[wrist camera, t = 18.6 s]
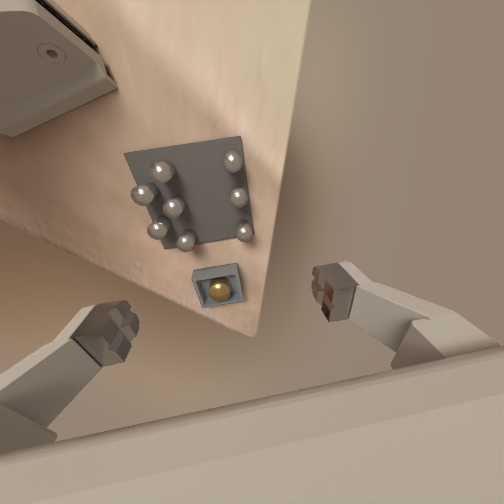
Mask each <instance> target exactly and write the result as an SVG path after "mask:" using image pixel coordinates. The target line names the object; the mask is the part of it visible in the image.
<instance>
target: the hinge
mask: <svg viewBox="0 0 504 504" xmlns="http://www.w3.org/2000/svg"><path fill="white" fill-rule="evenodd" d="M94 45H96V43H95V42H94V40H93V39H92V37H91V36H90V35H89V33H88V32H87V31H86V30H85V29H83V28H82V27H81V26H80V25H79V24H78V23H77V22H76V21H75V20H74V19H72V18H71V17H70V16H69V15H68V14H67V13H66V12H65V11H64V10H63V9H62V8H60V7H59V6H58V5H57V4H56V3H55V2H54V1H53V0H0V133H1V134H4V135H7V136H10V137H15V136H17V135H19V134H21V133H23V132H26V131H28V130H30V129H32V128H34V127H36V126H38V125H40V124H43V123H45V122H47V121H49V120H51V119H53V118H55V117H57V116H60V115H62V114H64V113H66V112H68V111H70V110H72V109H74V108H76V107H79V106H81V105H83V104H85V103H87V102H89V101H91V100H93V99H96V98H98V97H100V96H102V95H104V94H106V93H108V92H110V91H113V90H115V89H117V88H118V87H117V85H116V83H115V82H114V81H113V80H112V79H111V78H110V77H109V76H108V75H107V73H106V69H105V66H104V62H103V59H102V57H101V56H100V55H99V54H98V53H97V52H95V51H94V50H93V49H92V48H94V47H93V46H94Z"/></svg>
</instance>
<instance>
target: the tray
mask: <svg viewBox="0 0 504 504" xmlns="http://www.w3.org/2000/svg"><path fill="white" fill-rule="evenodd" d="M222 276H224V277H226V278H227V279H228V280H229V281H230V296H229V298H228V299H227V300H225V301H221V302H217V301H214V300H212V299H211V298H210V297H209V295H208V292H209V284H210V281H211V279H212V278H216V277H222ZM192 282H193V285H194V287H195V290H196V293H197V295H198V298H199V300H200V303H201V306H202V308H206V307H212V306H218V305H223V304H229V303H235V302H240V301H244V297H243V289H242V284H241V280H240V275H239V270H238V265H237V263H233V264H227V265H221V266H215V267H210V268H204V269H198V270H194V272H193V275H192Z"/></svg>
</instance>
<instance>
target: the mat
mask: <svg viewBox="0 0 504 504" xmlns="http://www.w3.org/2000/svg"><path fill="white" fill-rule="evenodd" d="M229 151H235V152H237V153H238V154H239V155H240V156H241V158H242V162H243V163H242V167H241V169H240V170H239V171H238V172H235V173H231V172H229V171H227V170H226V169H225V167H224V164H223V159H224V156H225V154H226V153H227V152H229ZM124 156H125V158H126V160H127V163H128V165H129V167H130V170H131V172H132V174H133V177H134V179H135V181H136V184H137V186H139V185H142V184H144V183H146V182H153V183H155V184H156V185H157V186H158V187H159V190H160V195H159V196H158V197H157V198H156V199H155V200H153V201H152V202H151V203H149V204H148V205H146V207H147V209H148V212H149V214H150V216H151V219H152V221H153V222H154V221H155V220H156V218H157V217H159V216H166V215H165V213H164V212H163V205H164V203H165V202H166V201H168V200H169V199H170V198H171V197H172V196H173V195H181V196H183V197H184V198H185V200H186V203H187V204H186V207H185V209H184V210H183V212H182V213H181V214H180V216H179V217H177V218H170V217H168V216H167V217H168V218H169V219H170V220H171V222H172V226H171V228H170V229H169V230H168V232H167V233H166V235H165V236H164V237H163V238H162V239H160V240H161V242H162V244H163V247H164V249H168V248H174V247H177V245H176V244H177V241H178V239H179V237H180V235H181V233H182V231H183V230H184V229H187V228H190V229H193V230H194V231H195V232H196V235H197V236H196V240H195V242H194V244H198V243H204V242H210V241H216V240H223V239H229V238H235V237H237V230H236V224H237V222H238V221H239V220H242V219H245V220H247V221H248V222H249V223H250V226H251V230H252V233H253V234H254V231H253V224H252V217H251V209H250V202H249V195H248V187H247V180H246V172H245V165H244V158H243V150H242V143H241V136H236V137H229V138H223V139H216V140H209V141H202V142H196V143H189V144H182V145H176V146H169V147H162V148H155V149H149V150H142V151H135V152H128V153H124ZM161 161H169V162H171V163H173V164H174V166H175V167H176V171H177V173H176V176H175V177H174V178H173V179H171V180H169V181H168V182H166V183H164V184H159V183H156V182H154V181H153V180H152V179H151V177H150V175H149V167H150V166H151V165H152V164H154V163H157V162H161ZM235 185H240V186H242V187H243V188H244V189H245V192H246V194H247V197H248V201H247V203H246V205H245V206H243V207H241V208H237V207H235V206H233V205H232V203H231V201H230V190H231V188H232V187H233V186H235Z"/></svg>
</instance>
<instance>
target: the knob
mask: <svg viewBox="0 0 504 504" xmlns="http://www.w3.org/2000/svg"><path fill="white" fill-rule="evenodd" d="M208 295H209V297H210V298H211V299H212V300H214V301H217V302H221V301H225V300H227V299H228V298H229V296H230V281H229V280H228V279H227V278H226V277H224V276H222V277H216V278H212V279H211V281H210V284H209V292H208Z"/></svg>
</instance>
